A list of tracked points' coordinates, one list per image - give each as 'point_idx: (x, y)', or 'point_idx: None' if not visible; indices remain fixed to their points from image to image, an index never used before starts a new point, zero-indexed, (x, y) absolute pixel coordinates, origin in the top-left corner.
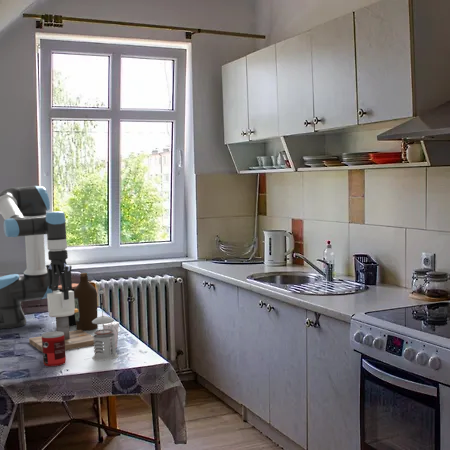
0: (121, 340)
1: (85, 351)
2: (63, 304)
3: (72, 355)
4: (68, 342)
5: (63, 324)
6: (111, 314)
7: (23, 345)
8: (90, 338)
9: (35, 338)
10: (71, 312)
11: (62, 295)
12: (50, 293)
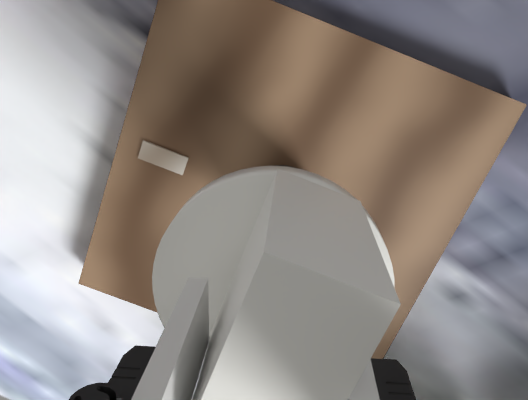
0: (56, 364)
1: (19, 132)
2: (180, 302)
3: (3, 33)
4: (163, 148)
5: None
6: None
7: (504, 40)
8: (135, 274)
9: (475, 123)
10: (160, 303)
11: (148, 366)
12: (354, 337)
